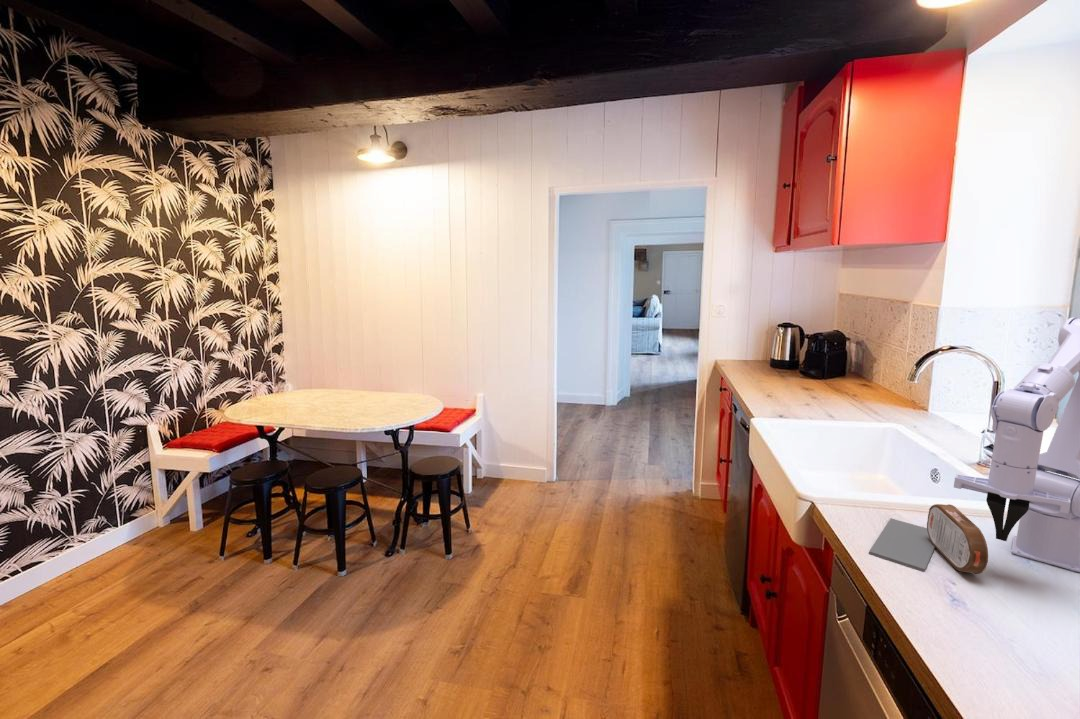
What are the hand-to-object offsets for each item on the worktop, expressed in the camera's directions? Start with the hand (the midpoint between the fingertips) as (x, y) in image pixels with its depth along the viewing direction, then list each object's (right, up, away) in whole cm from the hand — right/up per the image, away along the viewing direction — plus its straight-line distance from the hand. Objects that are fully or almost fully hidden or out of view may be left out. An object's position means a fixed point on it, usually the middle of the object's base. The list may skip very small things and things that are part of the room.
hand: (1001, 538), depth 91 cm
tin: (-5, -6, +6) cm, 9 cm away
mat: (-9, -5, +11) cm, 15 cm away
